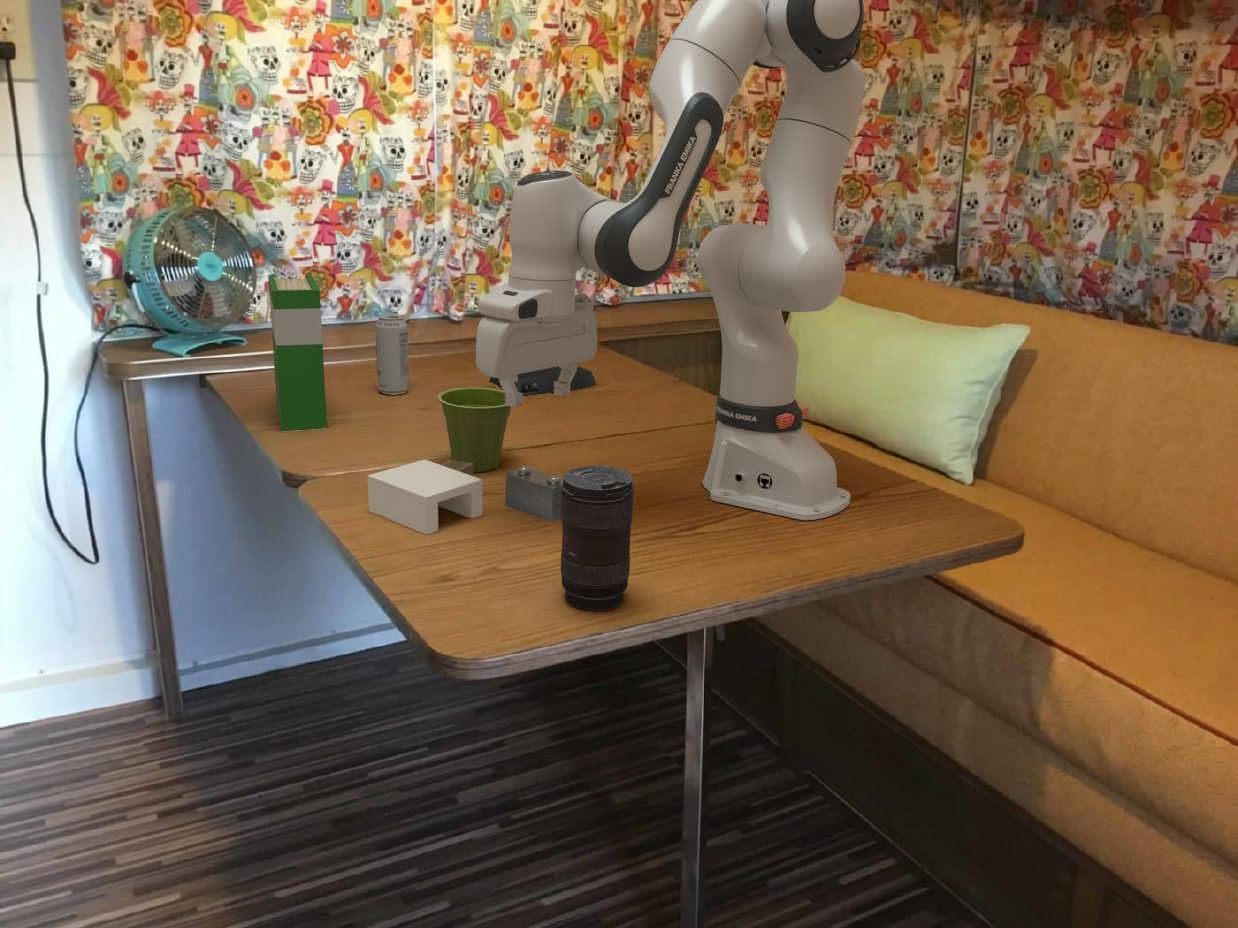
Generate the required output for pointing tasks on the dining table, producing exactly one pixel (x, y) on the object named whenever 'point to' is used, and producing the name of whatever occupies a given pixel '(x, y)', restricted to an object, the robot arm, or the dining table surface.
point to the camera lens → (596, 536)
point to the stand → (423, 494)
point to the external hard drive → (548, 381)
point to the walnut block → (459, 466)
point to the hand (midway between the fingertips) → (538, 400)
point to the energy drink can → (392, 354)
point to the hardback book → (298, 353)
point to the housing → (534, 492)
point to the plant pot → (475, 425)
